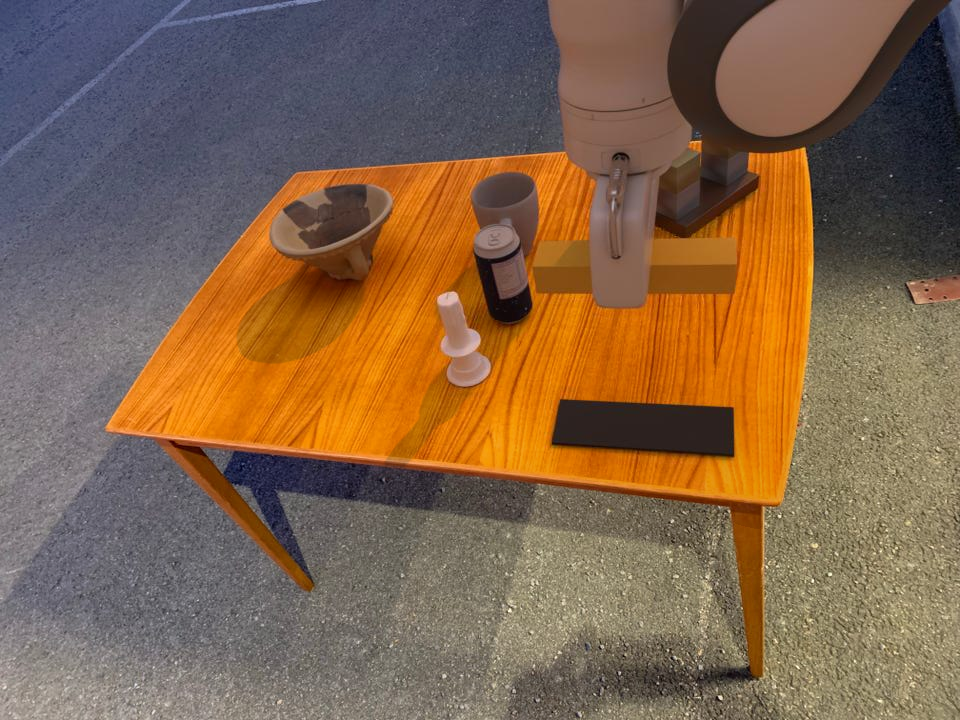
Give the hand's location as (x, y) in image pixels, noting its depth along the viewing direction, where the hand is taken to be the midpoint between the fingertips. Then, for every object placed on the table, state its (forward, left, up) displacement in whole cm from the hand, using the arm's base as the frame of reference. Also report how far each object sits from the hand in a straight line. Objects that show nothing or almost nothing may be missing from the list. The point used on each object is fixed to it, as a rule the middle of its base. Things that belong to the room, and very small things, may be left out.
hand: (633, 274), depth 58 cm
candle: (+20, +7, -20) cm, 30 cm away
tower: (+21, -35, -20) cm, 45 cm away
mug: (+33, -11, -20) cm, 41 cm away
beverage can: (+24, -3, -20) cm, 32 cm away
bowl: (+51, +6, -20) cm, 56 cm away
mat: (0, 0, -20) cm, 20 cm away
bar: (0, 0, -1) cm, 1 cm away
